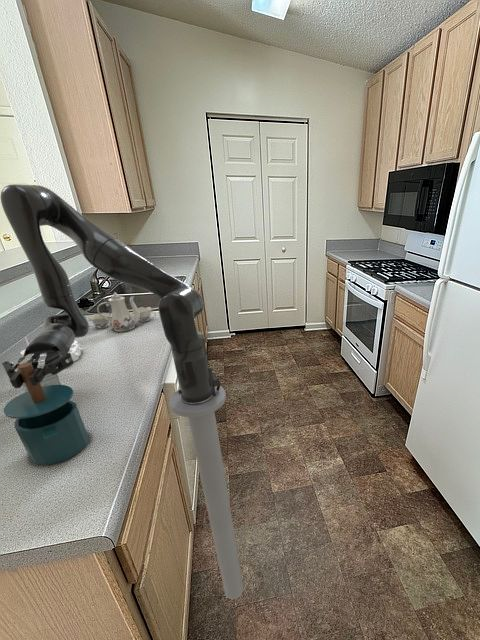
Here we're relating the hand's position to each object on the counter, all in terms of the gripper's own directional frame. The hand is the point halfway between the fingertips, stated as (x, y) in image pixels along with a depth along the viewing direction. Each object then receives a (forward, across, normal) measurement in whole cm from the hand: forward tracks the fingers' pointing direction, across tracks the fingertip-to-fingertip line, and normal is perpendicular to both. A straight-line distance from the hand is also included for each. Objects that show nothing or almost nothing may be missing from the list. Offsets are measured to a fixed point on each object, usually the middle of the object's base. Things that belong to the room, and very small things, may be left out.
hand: (24, 382), depth 67 cm
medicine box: (-29, -10, +20) cm, 36 cm away
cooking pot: (-3, 0, +19) cm, 19 cm away
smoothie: (-44, -14, +20) cm, 50 cm away
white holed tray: (-57, -13, +20) cm, 62 cm away
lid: (-3, 0, +6) cm, 7 cm away
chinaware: (-85, +6, +20) cm, 88 cm away
